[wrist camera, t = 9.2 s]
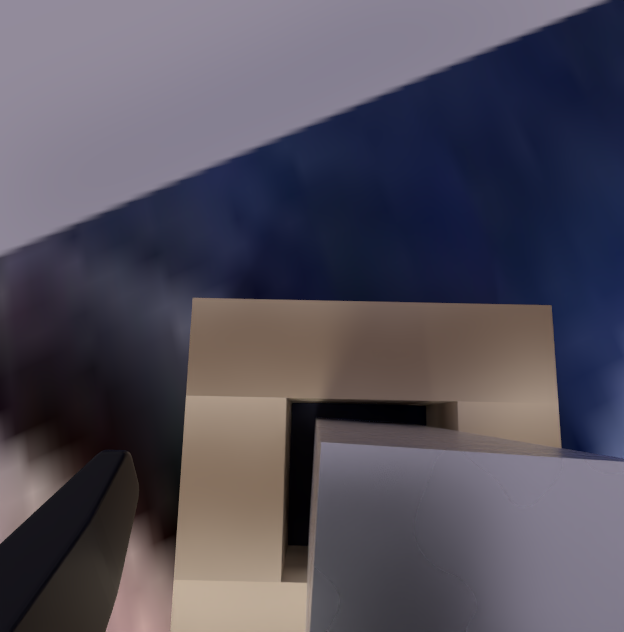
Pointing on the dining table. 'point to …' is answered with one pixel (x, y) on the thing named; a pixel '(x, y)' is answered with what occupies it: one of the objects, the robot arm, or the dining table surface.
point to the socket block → (337, 388)
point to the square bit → (460, 533)
